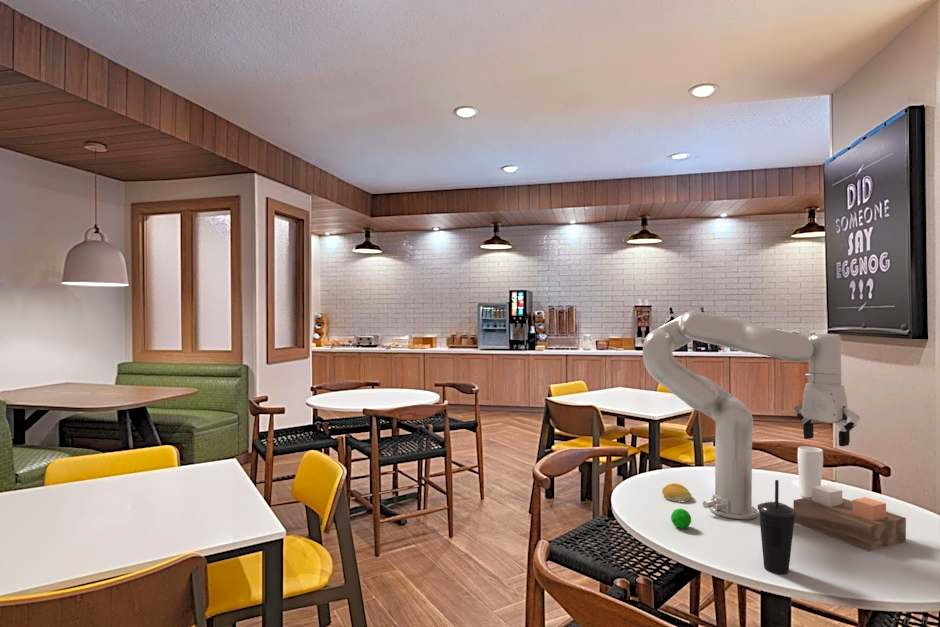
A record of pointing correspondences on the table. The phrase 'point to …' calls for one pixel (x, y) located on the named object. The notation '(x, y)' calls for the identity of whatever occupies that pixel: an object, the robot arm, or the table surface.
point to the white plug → (827, 495)
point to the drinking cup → (776, 534)
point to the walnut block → (850, 524)
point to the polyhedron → (681, 518)
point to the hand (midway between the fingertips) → (825, 441)
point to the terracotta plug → (869, 509)
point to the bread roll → (676, 492)
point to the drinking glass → (809, 469)
